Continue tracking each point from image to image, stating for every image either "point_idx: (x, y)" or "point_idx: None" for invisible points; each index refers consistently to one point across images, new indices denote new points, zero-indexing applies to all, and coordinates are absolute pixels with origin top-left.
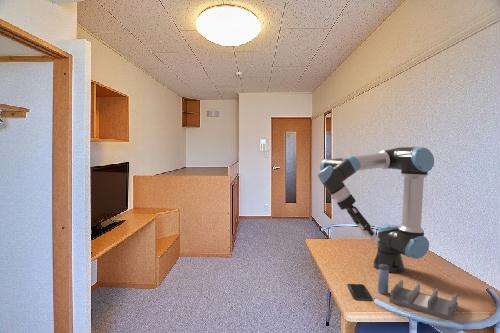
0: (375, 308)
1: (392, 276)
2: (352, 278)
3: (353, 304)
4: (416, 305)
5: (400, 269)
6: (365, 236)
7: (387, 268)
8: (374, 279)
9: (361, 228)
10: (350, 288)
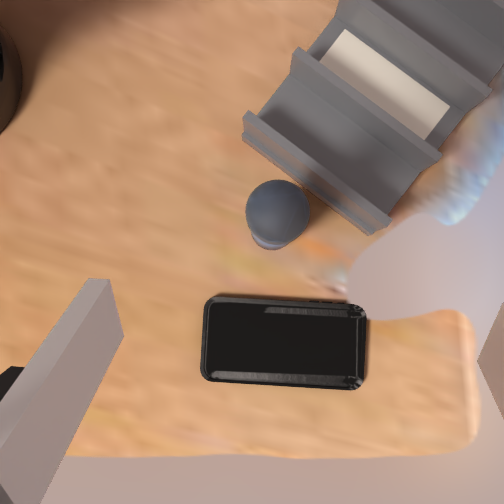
0: (434, 319)
1: (72, 108)
2: None
3: (405, 404)
4: (433, 143)
5: (4, 36)
6: (121, 339)
7: (306, 200)
8: (118, 215)
9: (64, 425)
10: (252, 377)
